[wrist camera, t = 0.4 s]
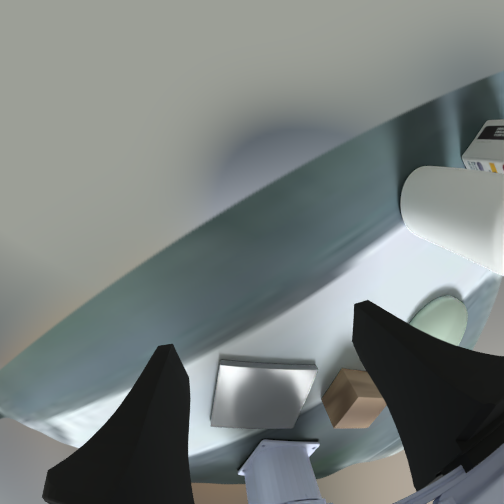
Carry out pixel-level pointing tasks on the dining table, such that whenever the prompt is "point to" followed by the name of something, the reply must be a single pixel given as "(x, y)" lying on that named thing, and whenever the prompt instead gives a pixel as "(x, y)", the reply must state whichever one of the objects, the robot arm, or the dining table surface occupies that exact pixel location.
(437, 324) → the sage dish
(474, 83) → the dining table surface
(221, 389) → the slate coaster
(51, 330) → the dining table surface
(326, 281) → the dining table surface
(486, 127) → the container
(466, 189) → the can
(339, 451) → the dining table surface
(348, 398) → the walnut block
